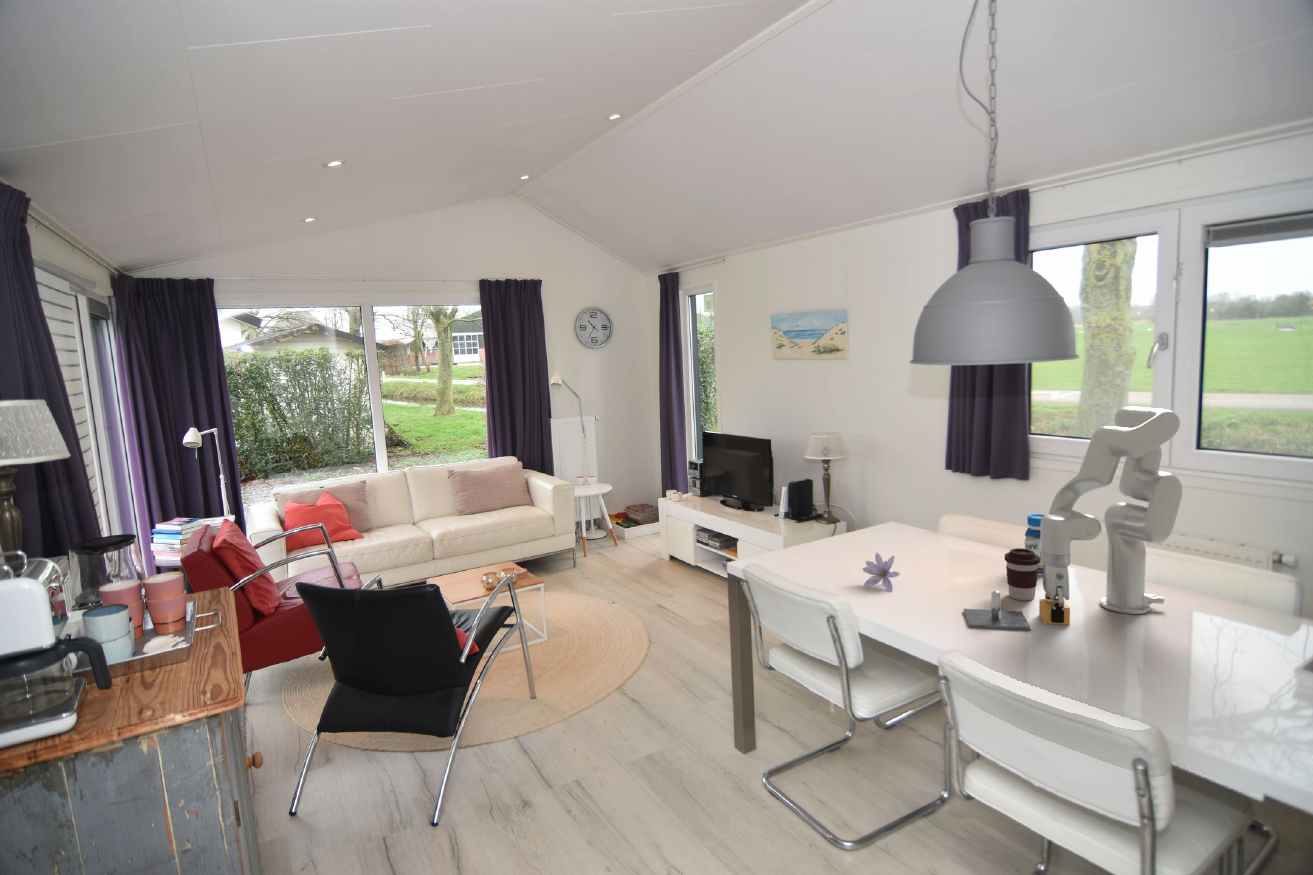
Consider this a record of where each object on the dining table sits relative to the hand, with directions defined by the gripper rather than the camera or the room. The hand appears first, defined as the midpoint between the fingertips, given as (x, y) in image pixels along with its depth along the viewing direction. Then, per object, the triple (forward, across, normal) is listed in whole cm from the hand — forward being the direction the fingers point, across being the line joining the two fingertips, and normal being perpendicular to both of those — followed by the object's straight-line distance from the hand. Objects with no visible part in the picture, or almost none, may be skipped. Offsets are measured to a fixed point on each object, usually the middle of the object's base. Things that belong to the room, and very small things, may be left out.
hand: (1054, 616), depth 205 cm
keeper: (+1, -3, +16) cm, 16 cm away
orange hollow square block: (+1, 0, 0) cm, 1 cm away
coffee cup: (+1, +18, +5) cm, 19 cm away
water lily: (+1, +23, +48) cm, 53 cm away
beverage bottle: (+1, +43, -5) cm, 43 cm away
